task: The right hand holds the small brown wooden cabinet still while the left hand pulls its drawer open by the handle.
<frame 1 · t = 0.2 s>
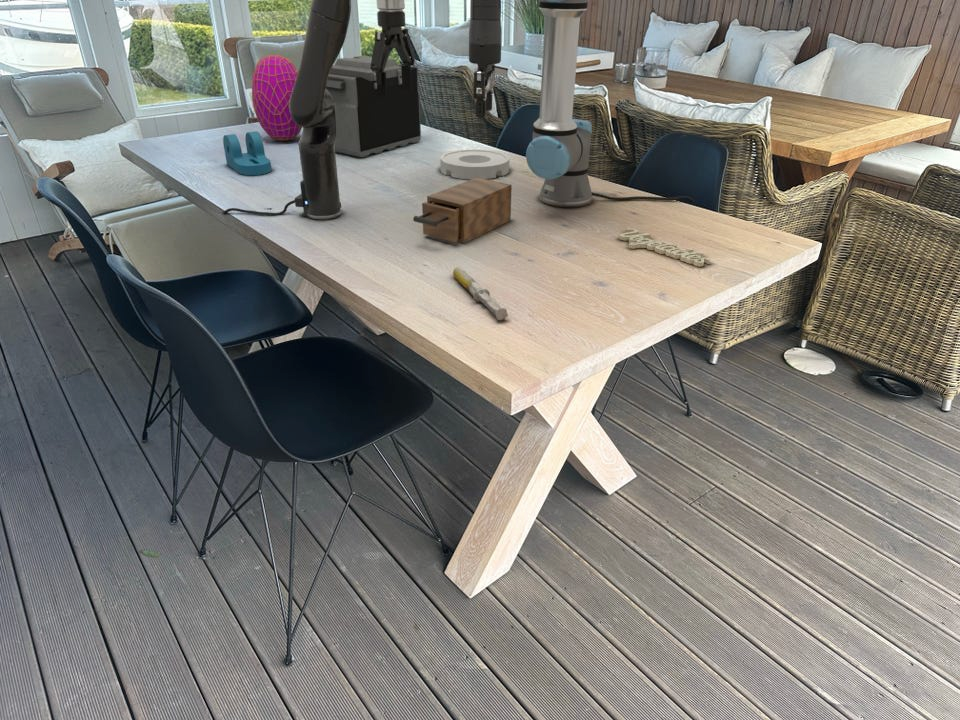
left hand: (484, 113, 167), 29 cm above the table, tool pointing down, fingers open, 8 cm apart
right hand: (395, 93, 197), 28 cm above the table, tool pointing down, fingers open, 13 cm apart
camera mount: (251, 168, 229), on the table
decorative sign: (659, 250, 169), on the table
decorative egg: (284, 140, 265), on the table
ashtray: (474, 170, 231), on the table
syringe: (478, 297, 145), on the table
cabinet: (470, 227, 182), on the table
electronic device: (371, 146, 258), on the table
drawer: (456, 215, 175), point 5 cm above the table, slide at 1.5 cm
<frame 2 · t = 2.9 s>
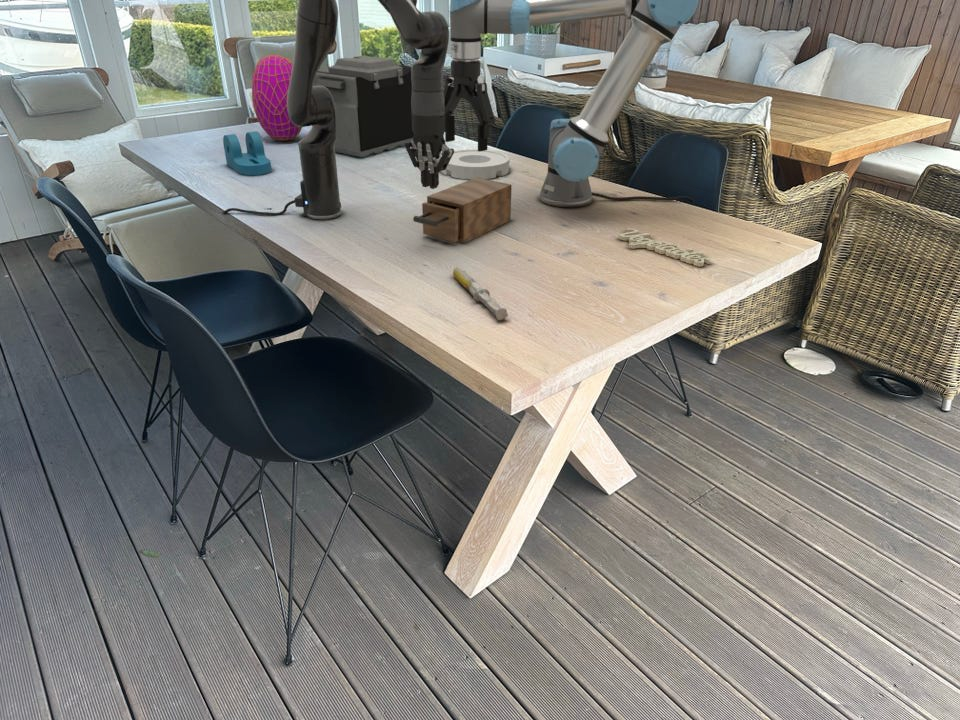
left hand: (430, 186, 163), 15 cm above the table, tool pointing down, fingers closed
right hand: (465, 145, 183), 18 cm above the table, tool pointing down, fingers open, 13 cm apart
nothing on the table moved.
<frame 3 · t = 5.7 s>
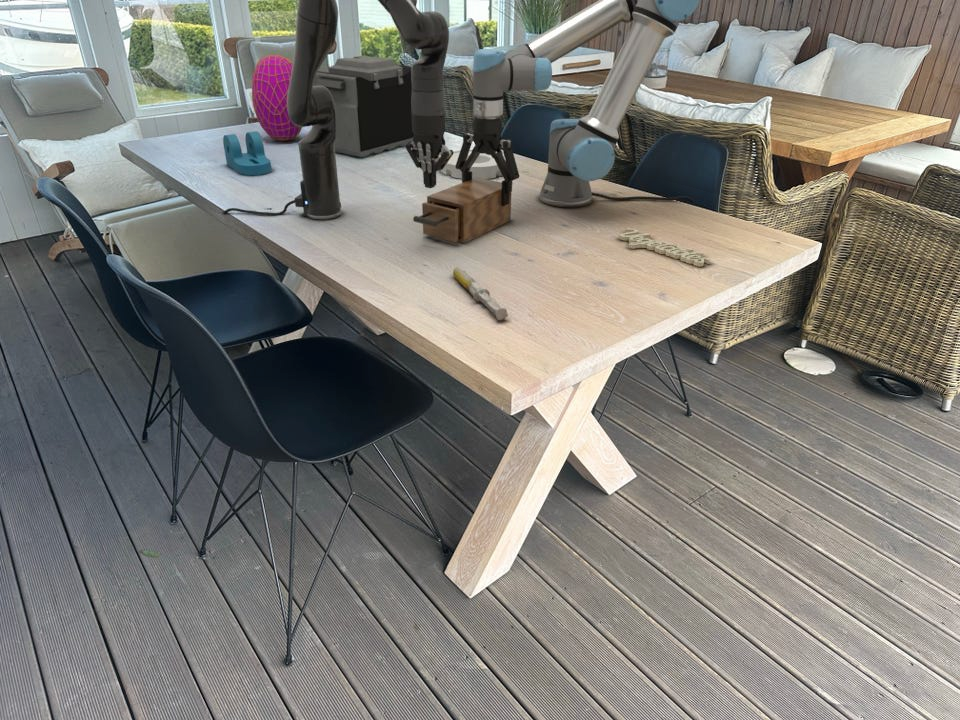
left hand: (430, 187, 163), 15 cm above the table, tool pointing down, fingers closed
right hand: (486, 200, 185), 5 cm above the table, tool pointing down, fingers closed on cabinet, 11 cm apart
cabinet: (470, 227, 182), on the table, touching right hand
everything else where it was.
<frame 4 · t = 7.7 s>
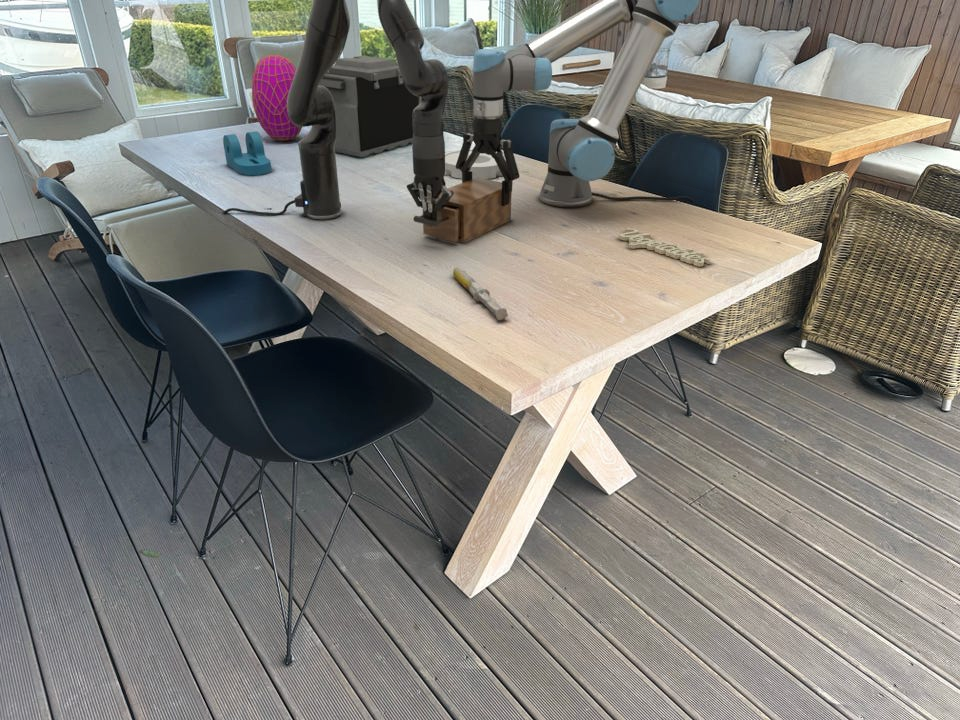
left hand: (430, 225, 168), 5 cm above the table, tool pointing down, fingers closed
right hand: (486, 200, 185), 5 cm above the table, tool pointing down, fingers closed on cabinet, 11 cm apart
cabinet: (470, 227, 182), on the table, touching right hand
drawer: (456, 215, 175), point 5 cm above the table, slide at 1.5 cm, touching left hand
everything else where it was.
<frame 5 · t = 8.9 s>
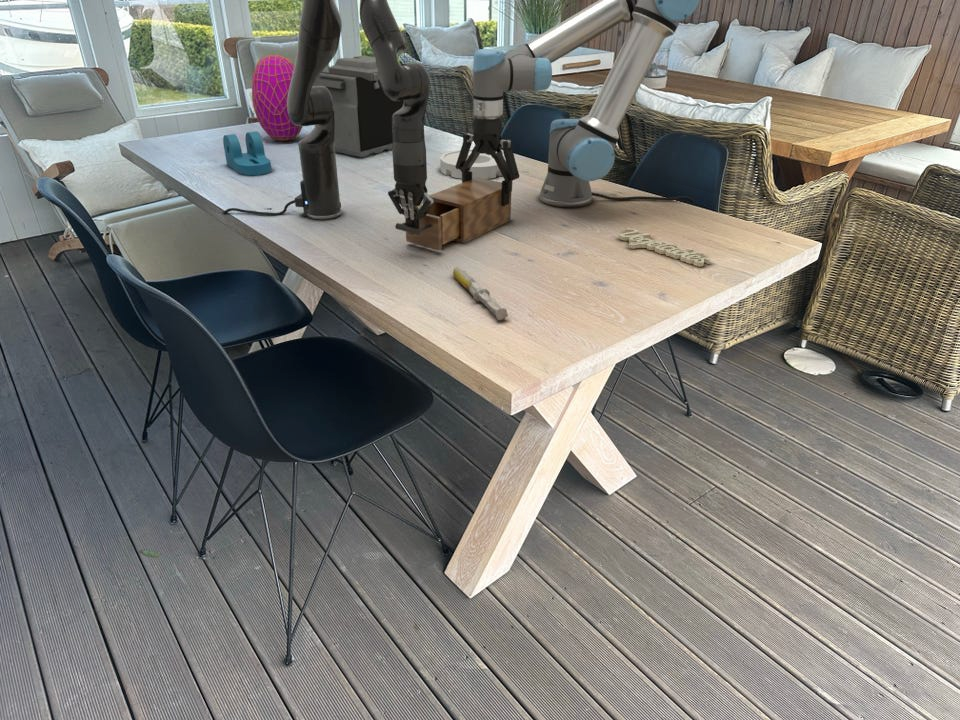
left hand: (413, 233, 163), 5 cm above the table, tool pointing down, fingers closed
right hand: (486, 200, 185), 5 cm above the table, tool pointing down, fingers closed on cabinet, 11 cm apart
cabinet: (470, 227, 182), on the table, touching right hand
drawer: (440, 222, 171), point 5 cm above the table, slide at 8.1 cm, touching left hand
everything else where it was.
when the right hand's fingers open (5 cm above the table, at t = 10.8 s): cabinet stays where it is, on the table.
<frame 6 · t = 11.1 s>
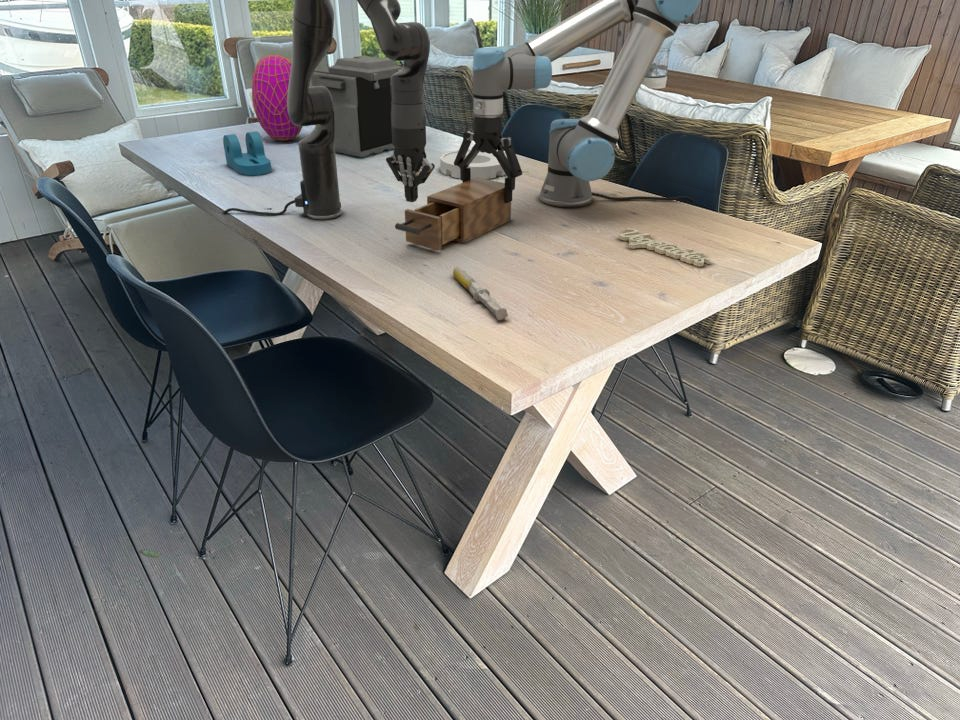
left hand: (411, 201, 159), 13 cm above the table, tool pointing down, fingers closed
right hand: (487, 197, 184), 6 cm above the table, tool pointing down, fingers open, 13 cm apart
cabinet: (470, 227, 182), on the table
drawer: (440, 222, 171), point 5 cm above the table, slide at 8.2 cm
everything else where it was.
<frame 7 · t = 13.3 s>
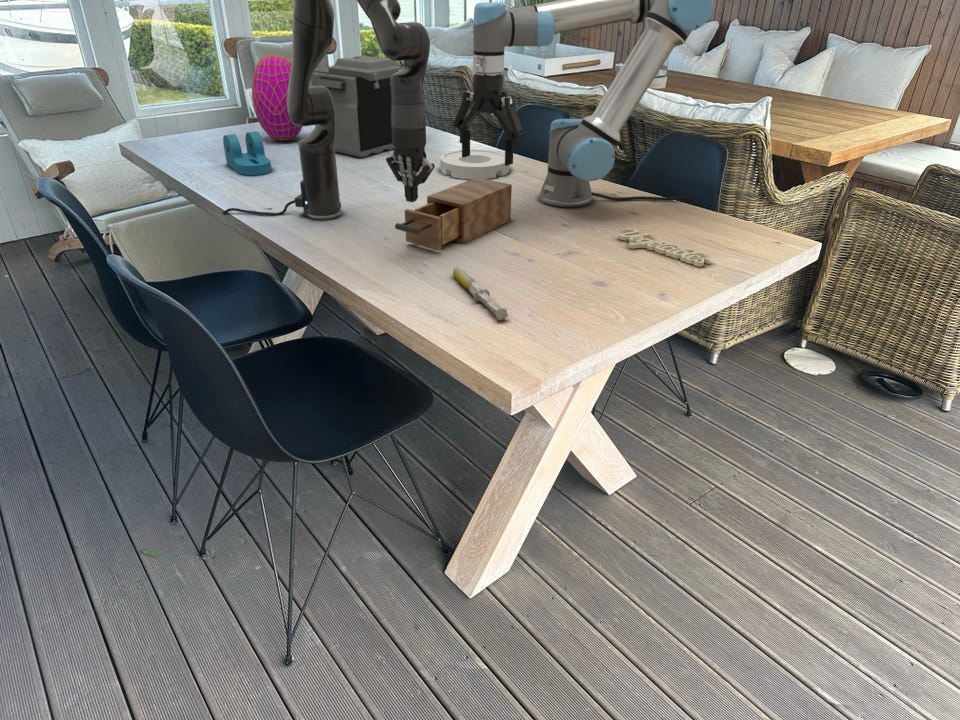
left hand: (411, 201, 159), 13 cm above the table, tool pointing down, fingers closed
right hand: (487, 160, 179), 16 cm above the table, tool pointing down, fingers open, 13 cm apart
nothing on the table moved.
at the end: drawer slide at 8.2 cm; cabinet tilted 0°; cabinet never tilted more than 1° during the clip; cabinet moved 0.0 cm from its start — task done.
